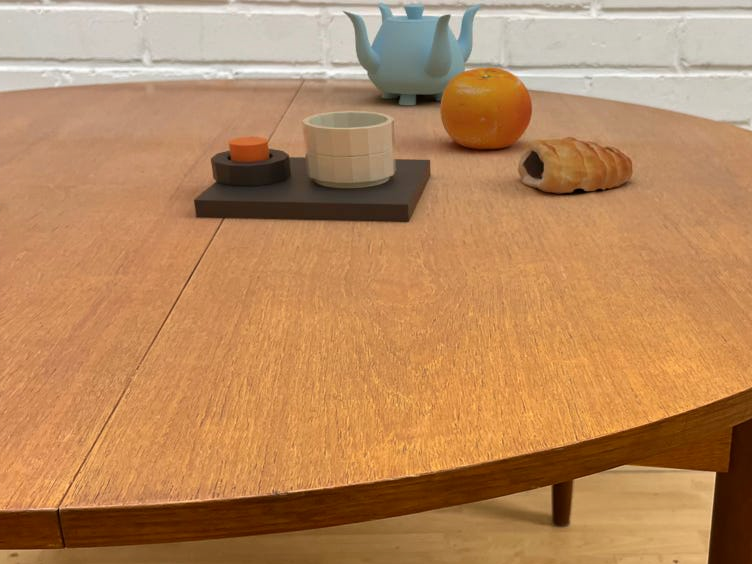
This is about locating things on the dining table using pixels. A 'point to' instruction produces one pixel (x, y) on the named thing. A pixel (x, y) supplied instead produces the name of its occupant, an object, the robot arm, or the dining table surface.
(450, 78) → the teapot
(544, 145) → the pastry
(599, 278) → the dining table surface
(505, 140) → the fruit
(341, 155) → the bowl
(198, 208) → the scale
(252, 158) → the button
